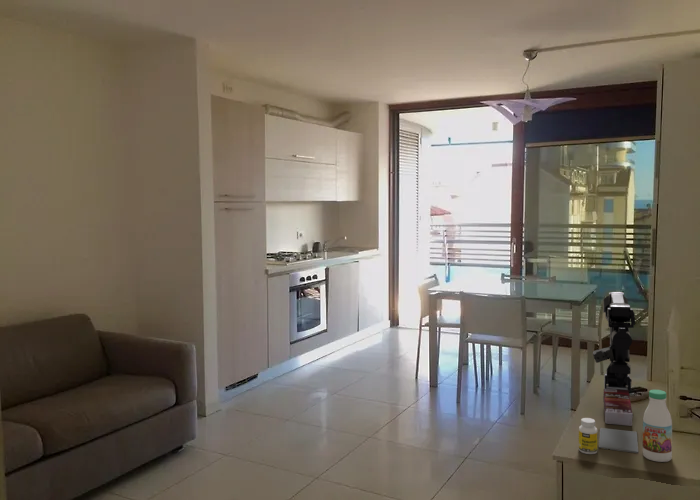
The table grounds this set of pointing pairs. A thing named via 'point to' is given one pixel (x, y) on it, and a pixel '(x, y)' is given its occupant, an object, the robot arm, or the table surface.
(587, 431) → the supplement bottle
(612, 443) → the mat
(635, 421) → the table surface
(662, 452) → the milk bottle
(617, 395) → the supplement box
